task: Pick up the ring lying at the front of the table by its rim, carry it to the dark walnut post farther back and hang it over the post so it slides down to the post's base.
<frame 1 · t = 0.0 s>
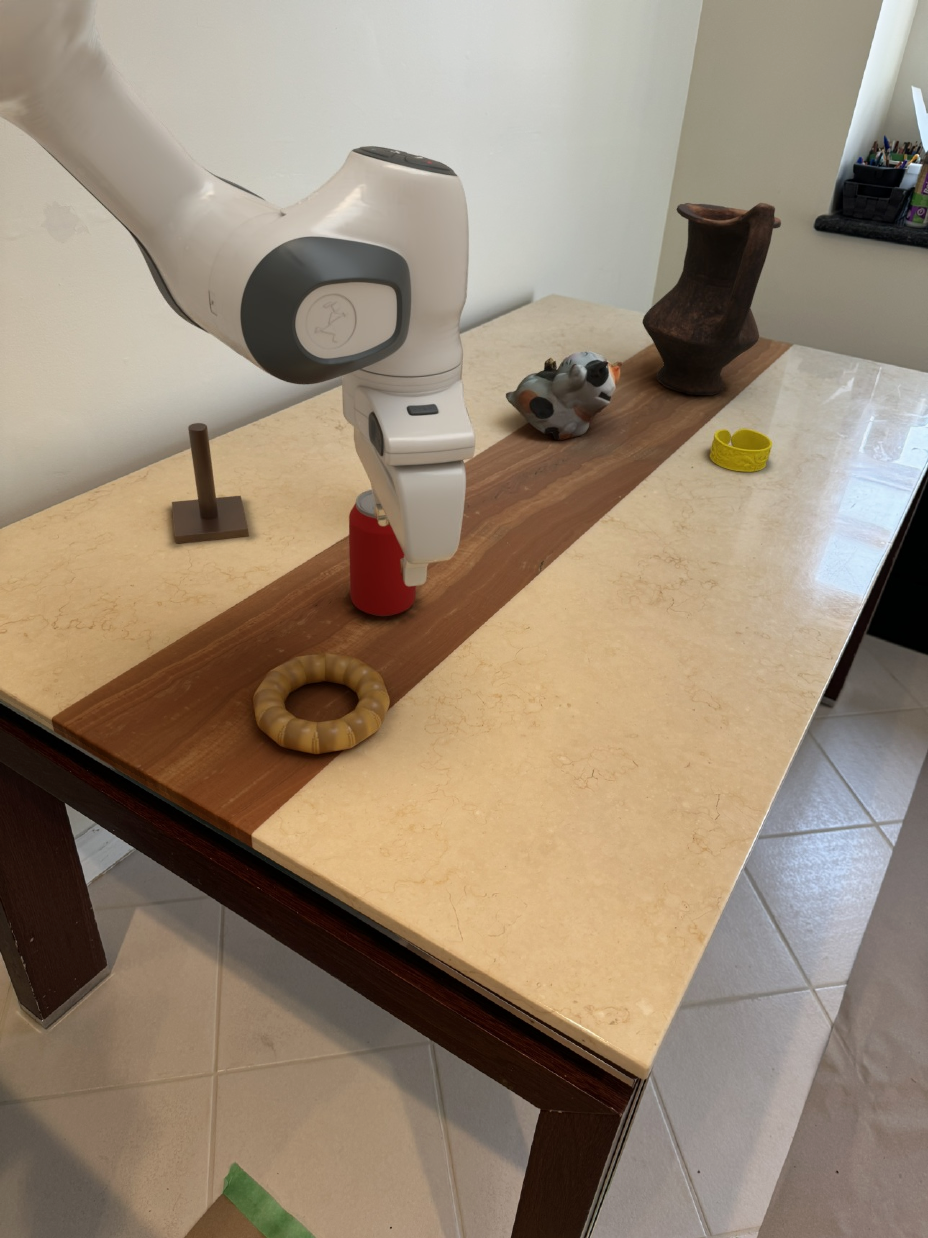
hand: (398, 549, 73), 14 cm above the table, tool pointing down, fingers open, 8 cm apart
post: (210, 522, 102), on the table
bottle: (411, 525, 105), on the table
bracelet: (737, 460, 124), on the table
beverage can: (383, 604, 91), on the table
jug: (690, 387, 146), on the table
ring: (321, 700, 77), point 1 cm above the table
lucky cat figurine: (558, 424, 131), on the table
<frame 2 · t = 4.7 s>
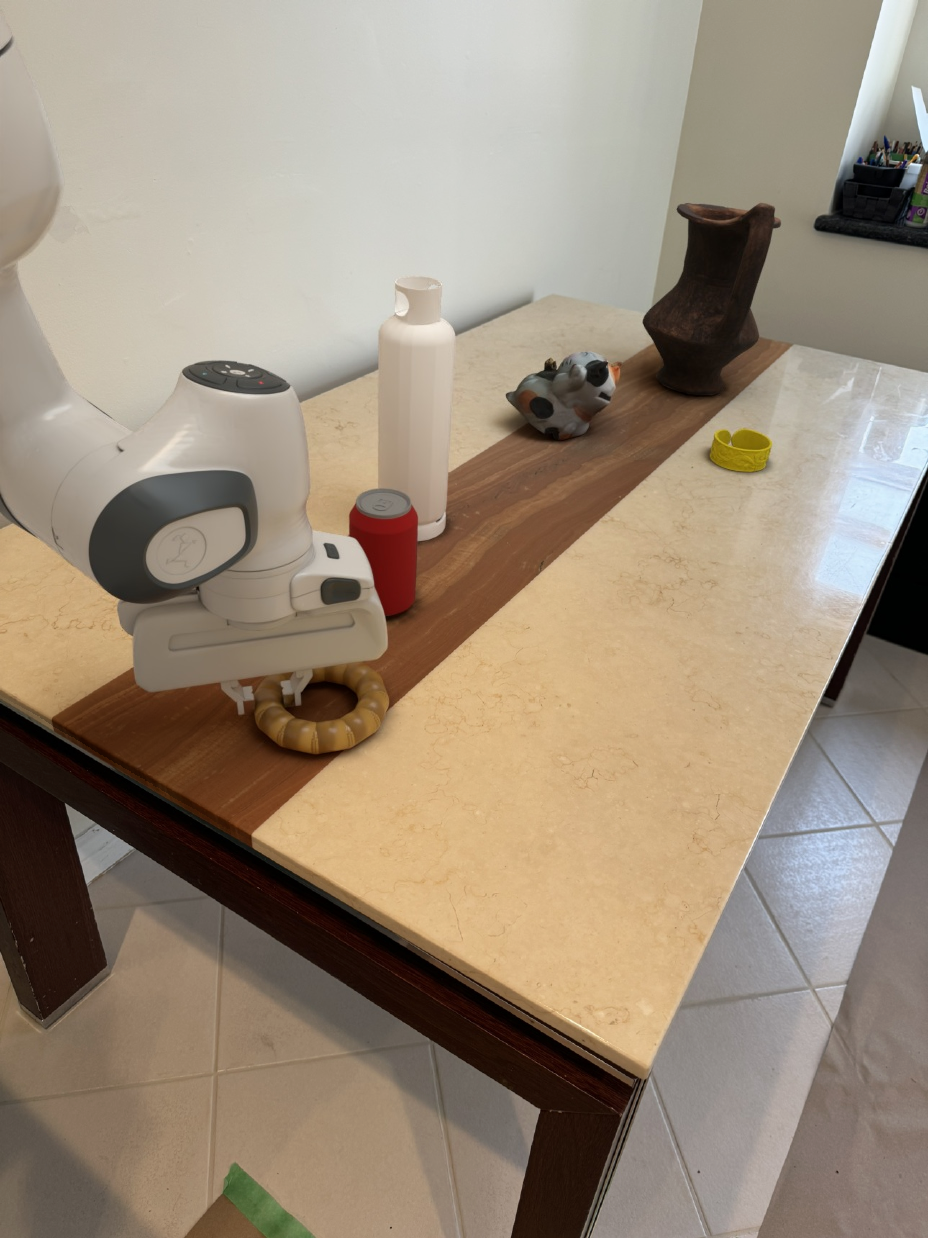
hand: (269, 705, 75), 2 cm above the table, tool pointing down, fingers closed on ring, 2 cm apart
ring: (321, 700, 77), point 1 cm above the table, touching gripper
everything else where it was.
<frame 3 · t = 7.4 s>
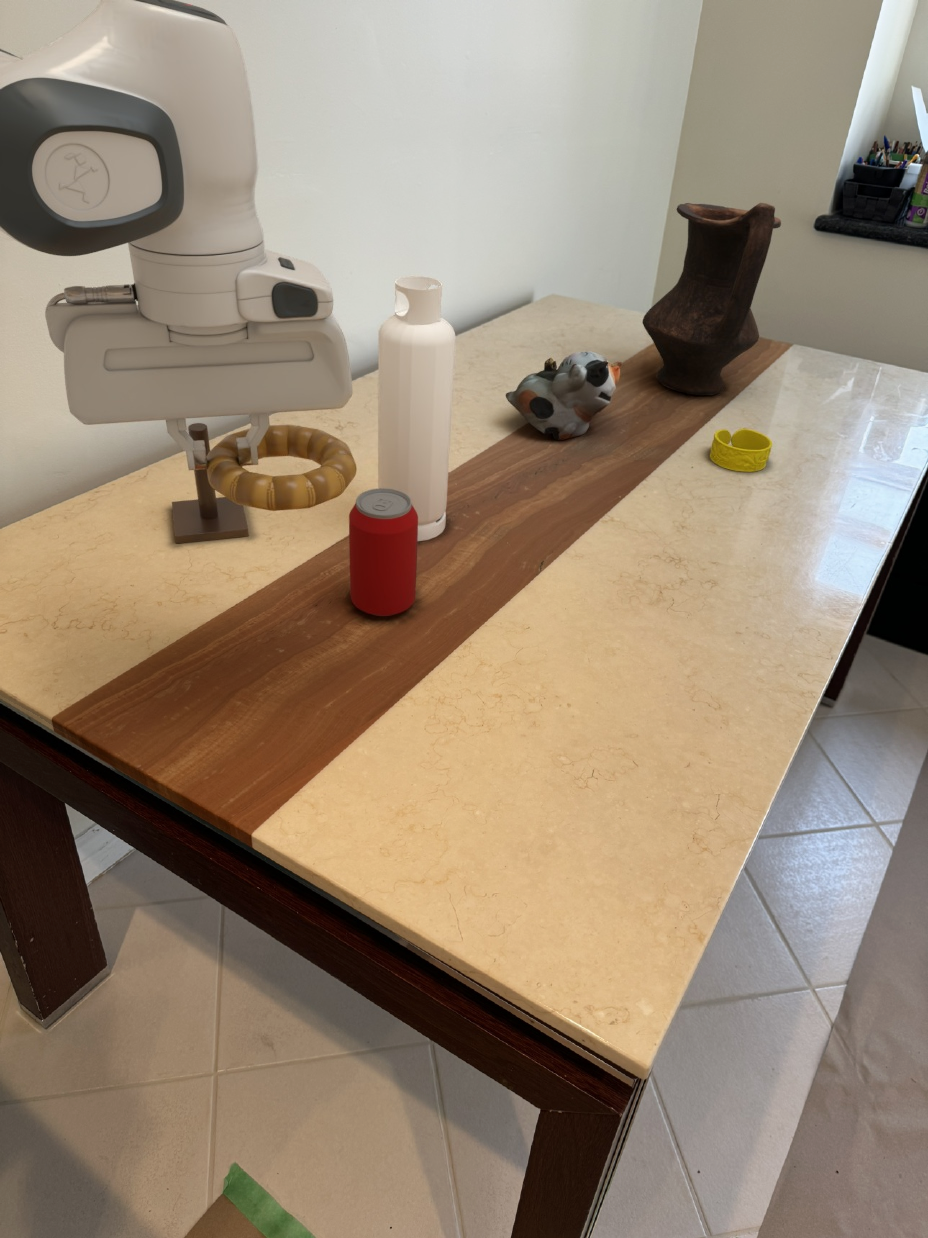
hand: (223, 464, 68), 21 cm above the table, tool pointing down, fingers closed on ring, 2 cm apart
ring: (281, 465, 70), point 21 cm above the table, touching gripper
everything else where it was.
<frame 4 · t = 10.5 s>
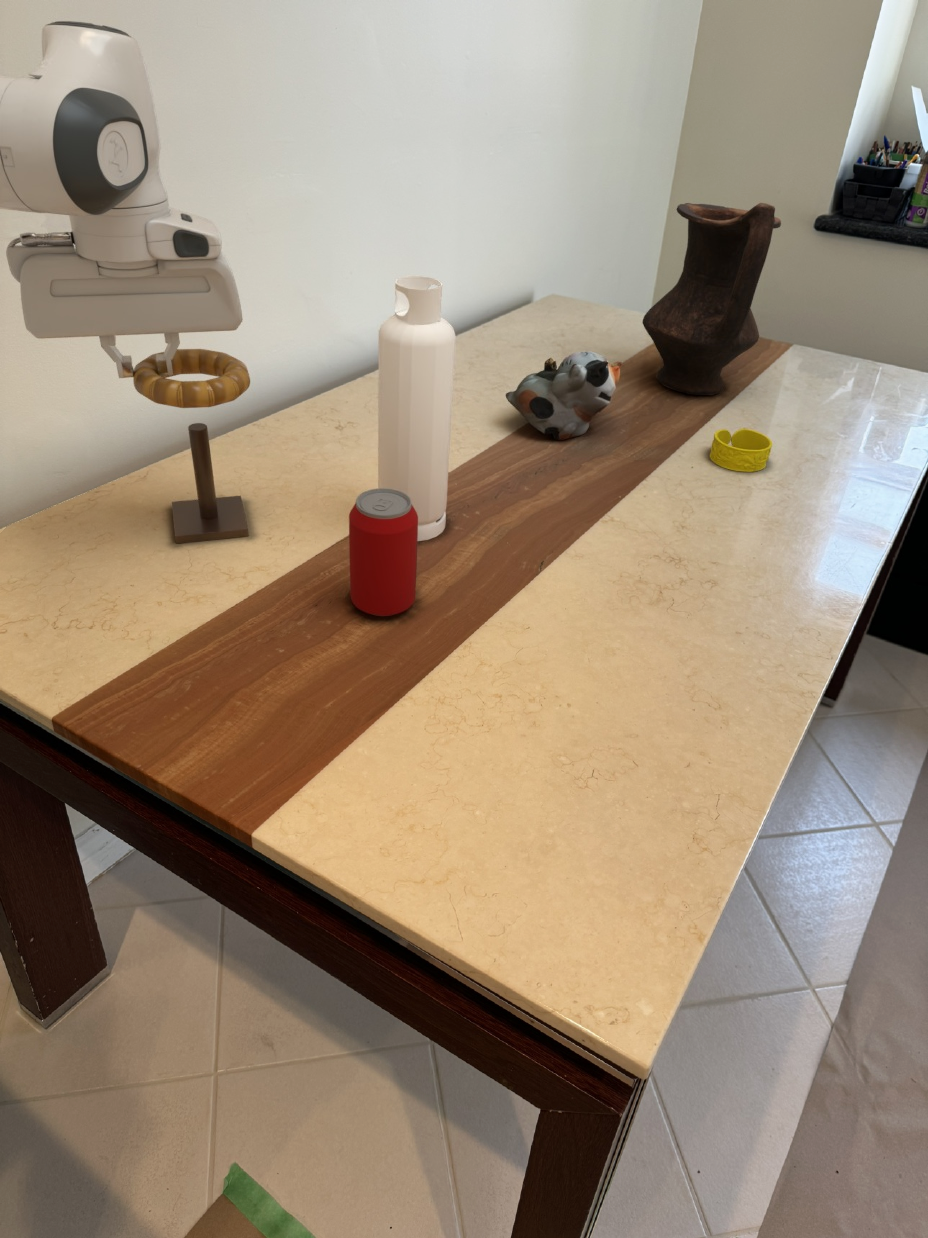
hand: (146, 374, 90), 18 cm above the table, tool pointing down, fingers closed on ring, 2 cm apart
ring: (192, 377, 91), point 18 cm above the table, touching gripper
everything else where it was.
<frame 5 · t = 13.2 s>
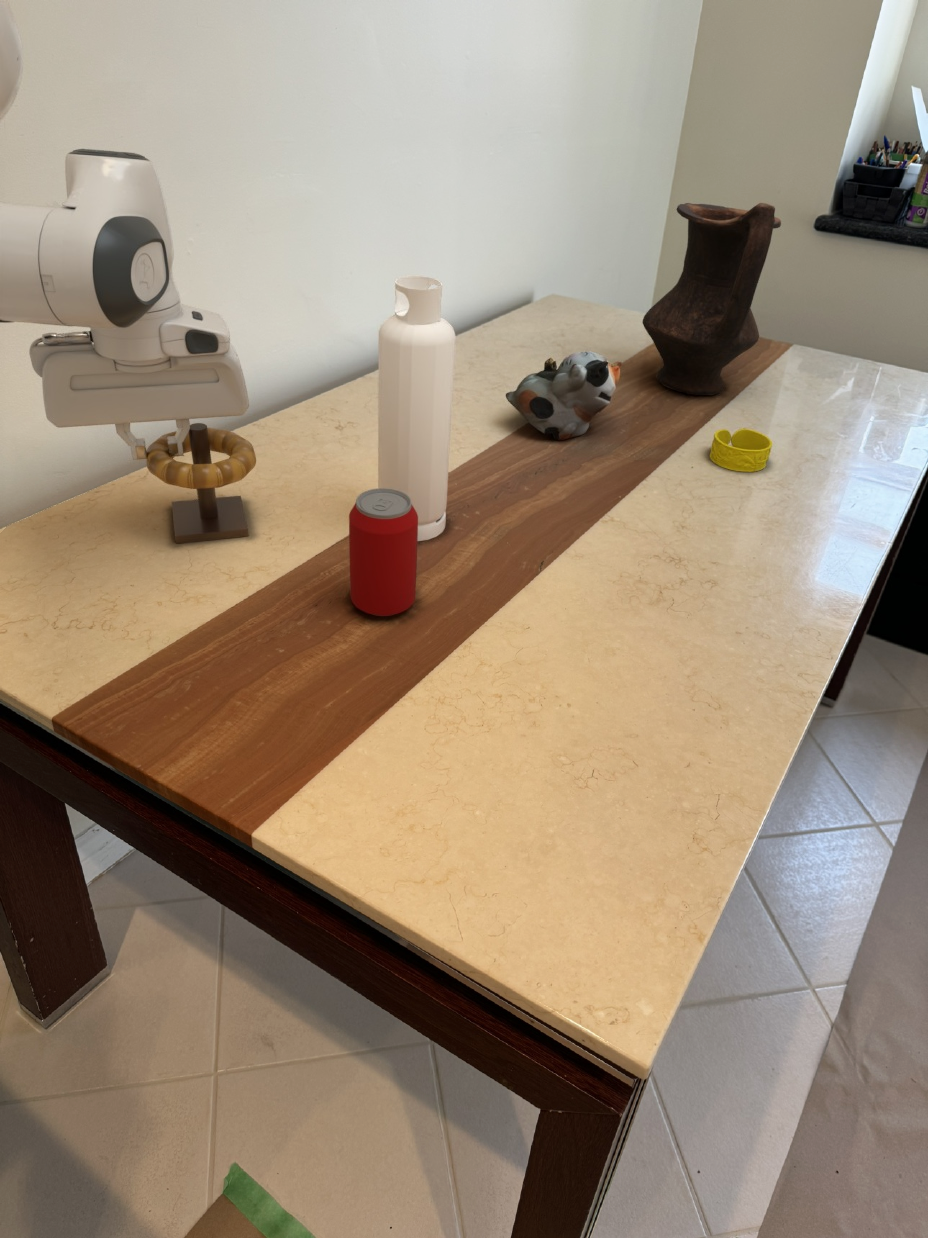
hand: (158, 455, 95), 9 cm above the table, tool pointing down, fingers closed on ring, 2 cm apart
ring: (201, 457, 97), point 8 cm above the table, touching gripper
everything else where it was.
when the fingers open (10 cm above the table, at t = 16.5 s): ring drops 7 cm, resting on post.
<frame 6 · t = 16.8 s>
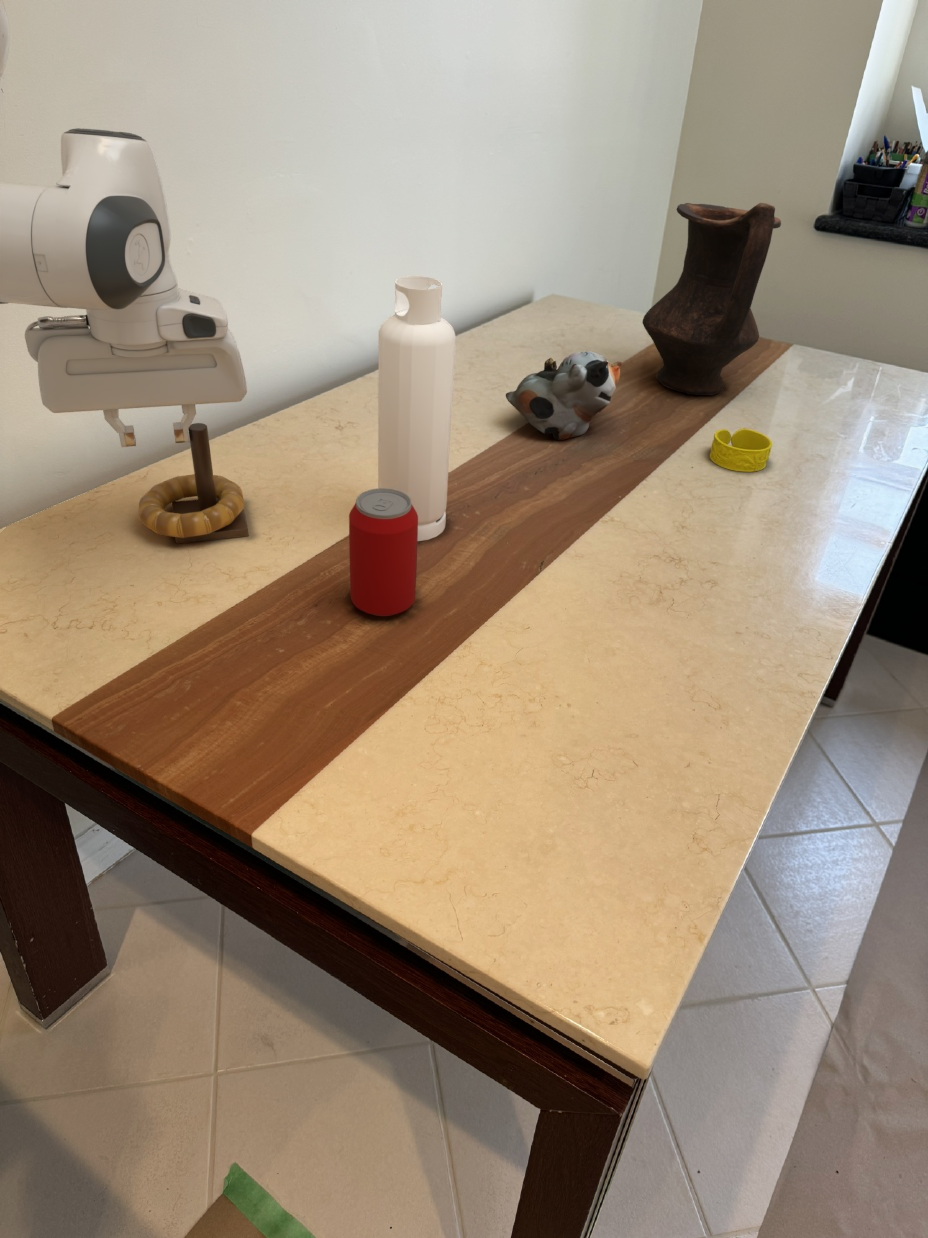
hand: (155, 442, 94), 10 cm above the table, tool pointing down, fingers open, 4 cm apart
ring: (191, 504, 100), point 2 cm above the table, touching post
everything else where it was.
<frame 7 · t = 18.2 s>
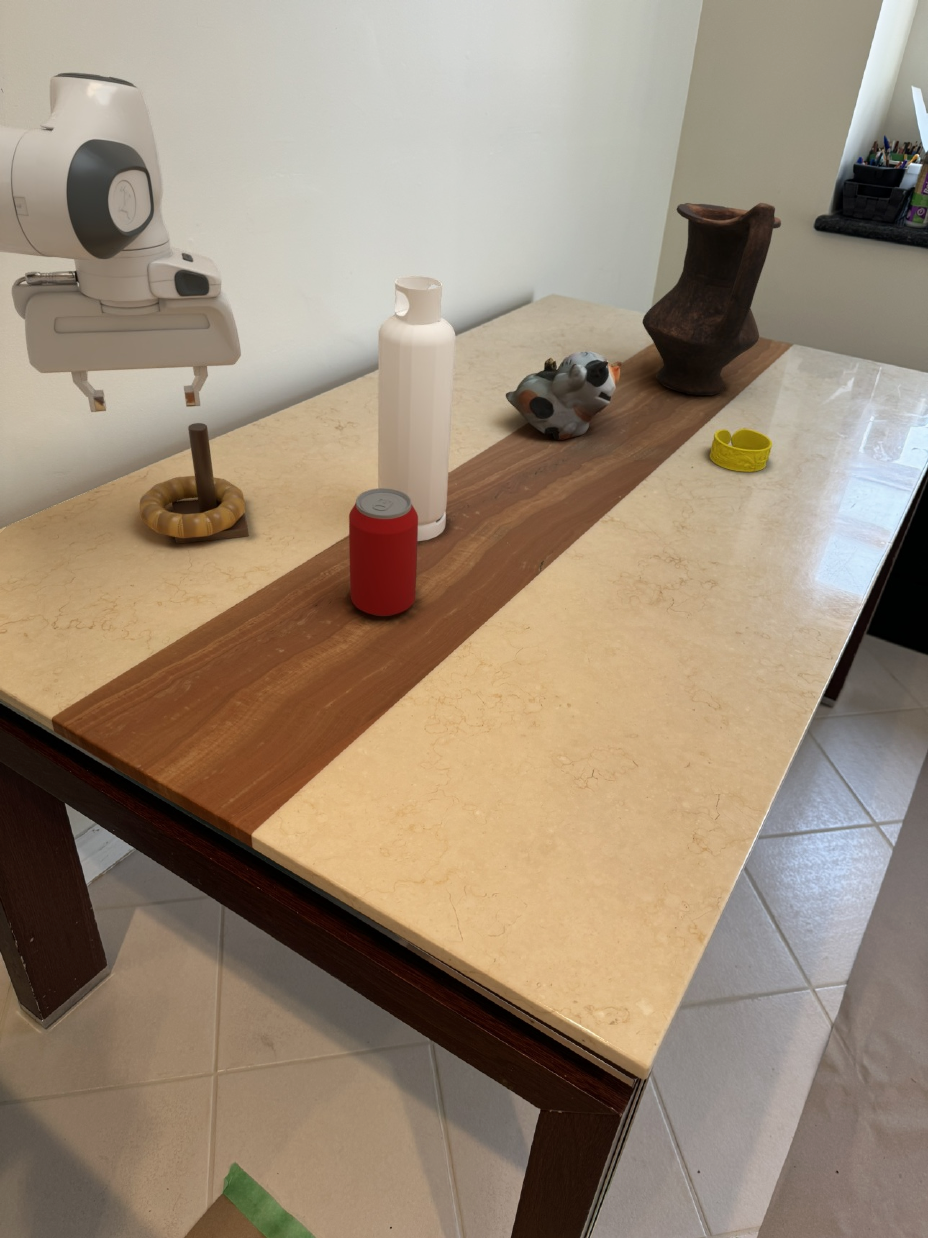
hand: (146, 407, 92), 15 cm above the table, tool pointing down, fingers open, 8 cm apart
nothing on the table moved.
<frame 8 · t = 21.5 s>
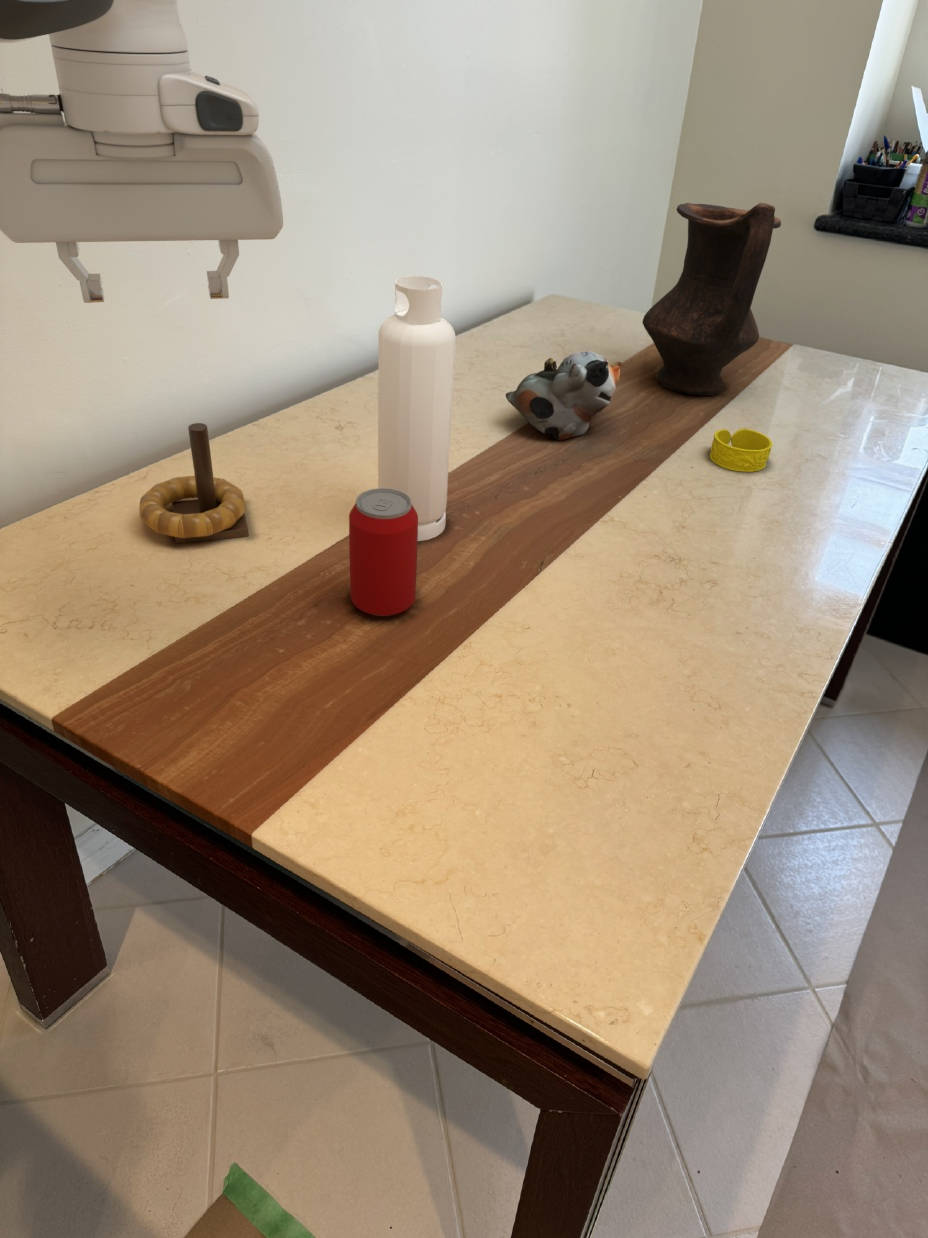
hand: (157, 298, 69), 31 cm above the table, tool pointing down, fingers open, 8 cm apart
nothing on the table moved.
at the end: ring 1.7 cm off-centre on the post, point 2.3 cm above the post's base; the gripper is holding nothing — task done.
